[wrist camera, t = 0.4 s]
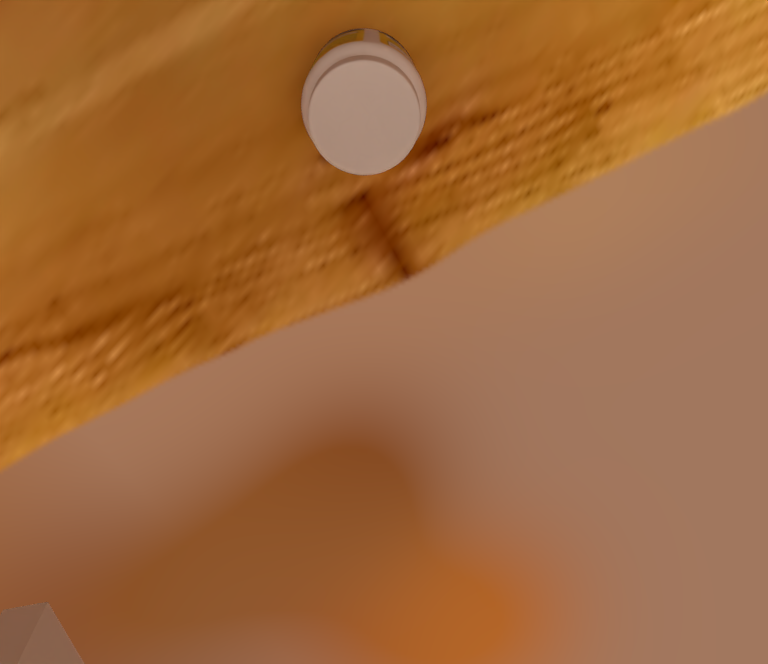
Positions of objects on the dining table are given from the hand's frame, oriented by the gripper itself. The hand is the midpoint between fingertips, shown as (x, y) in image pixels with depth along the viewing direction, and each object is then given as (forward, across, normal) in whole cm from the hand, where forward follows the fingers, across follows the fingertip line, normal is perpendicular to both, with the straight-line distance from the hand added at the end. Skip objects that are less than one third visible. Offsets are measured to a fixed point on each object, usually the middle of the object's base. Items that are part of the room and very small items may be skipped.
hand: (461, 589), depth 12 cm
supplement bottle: (+26, -1, +4) cm, 27 cm away
